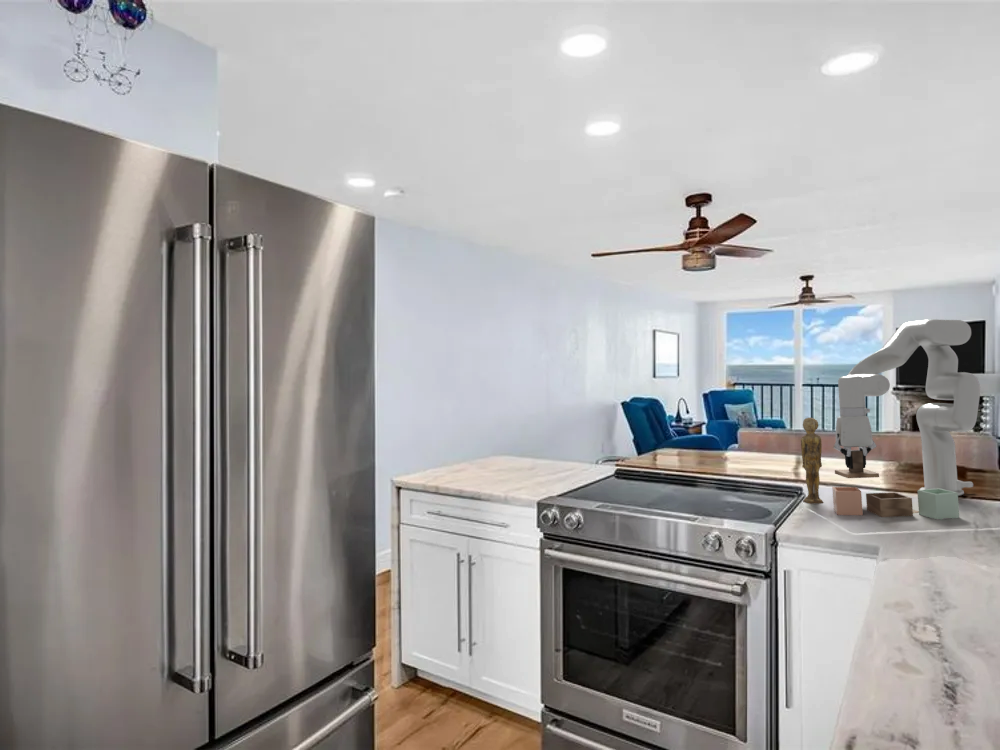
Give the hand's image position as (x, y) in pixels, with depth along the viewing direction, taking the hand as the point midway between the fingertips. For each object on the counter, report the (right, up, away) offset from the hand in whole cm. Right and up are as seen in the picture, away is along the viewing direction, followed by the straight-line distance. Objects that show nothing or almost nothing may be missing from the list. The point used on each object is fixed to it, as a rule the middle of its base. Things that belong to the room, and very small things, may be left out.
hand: (855, 467), depth 203 cm
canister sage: (+13, -12, -20) cm, 27 cm away
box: (+3, -13, -13) cm, 19 cm away
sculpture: (-10, -14, +7) cm, 19 cm away
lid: (0, -3, 0) cm, 3 cm away
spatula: (+9, -12, -8) cm, 17 cm away
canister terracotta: (-8, -14, -9) cm, 18 cm away
